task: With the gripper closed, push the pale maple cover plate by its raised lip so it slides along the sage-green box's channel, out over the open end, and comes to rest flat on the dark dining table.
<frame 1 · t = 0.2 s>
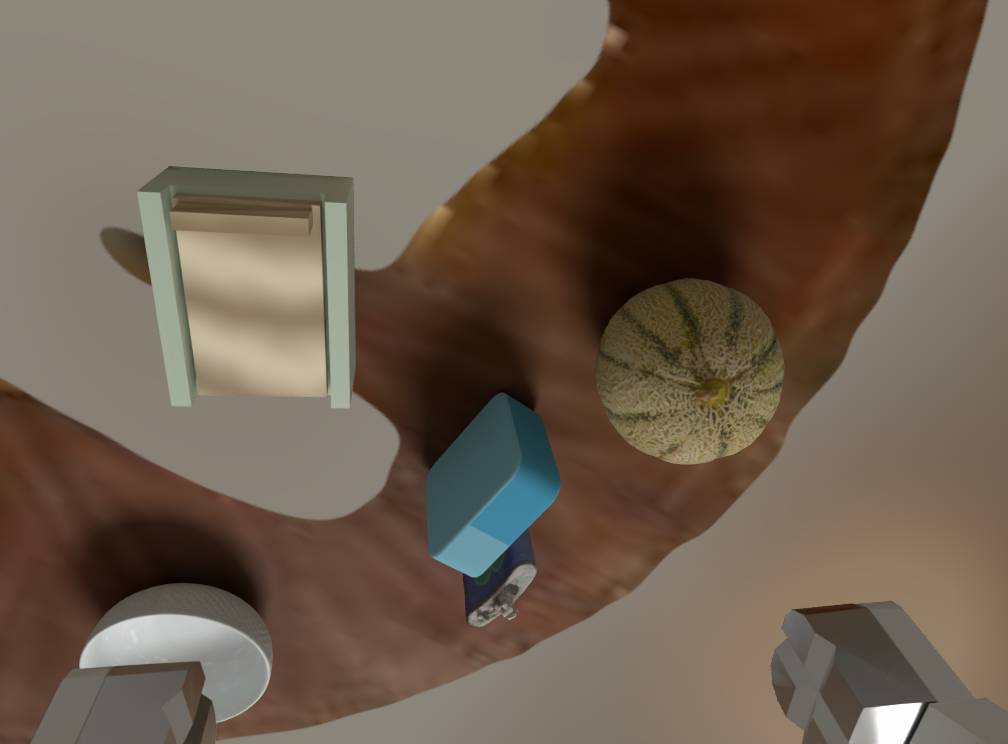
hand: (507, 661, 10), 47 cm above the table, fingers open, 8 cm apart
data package: (481, 440, 65), on the table
cereal bowl: (196, 614, 72), on the table
box: (270, 274, 55), on the table
cover plate: (259, 299, 50), point 5 cm above the table, touching box
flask: (492, 529, 71), on the table
cantaloupe: (657, 331, 62), on the table
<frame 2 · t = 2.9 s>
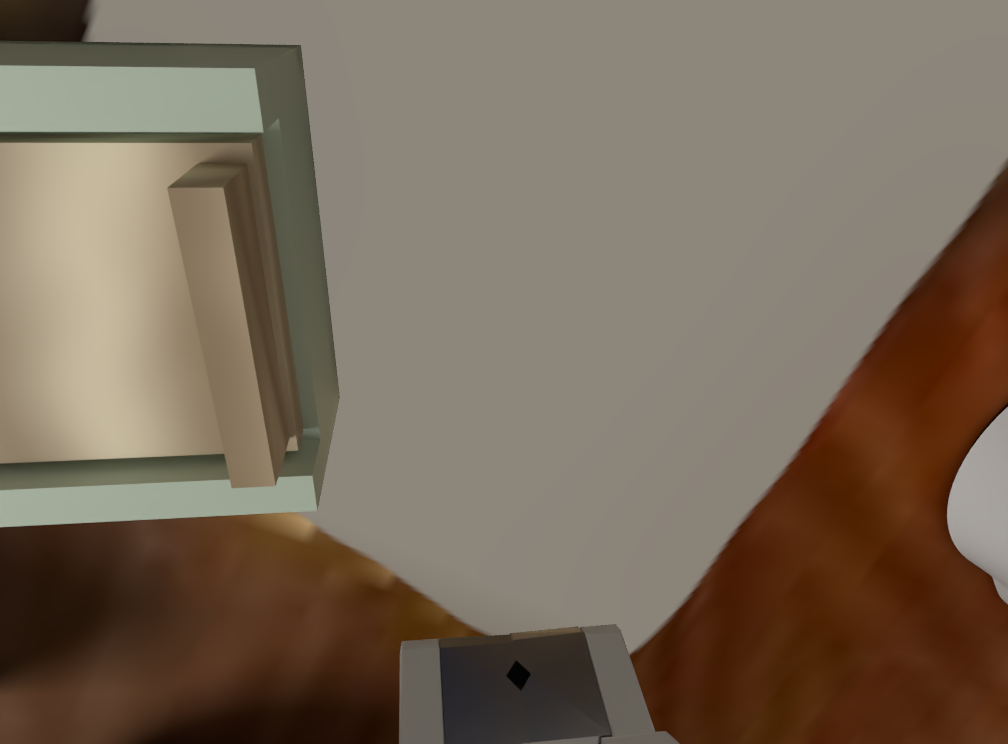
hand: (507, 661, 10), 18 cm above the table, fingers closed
box: (89, 246, 24), on the table
cover plate: (16, 303, 20), point 5 cm above the table, touching box
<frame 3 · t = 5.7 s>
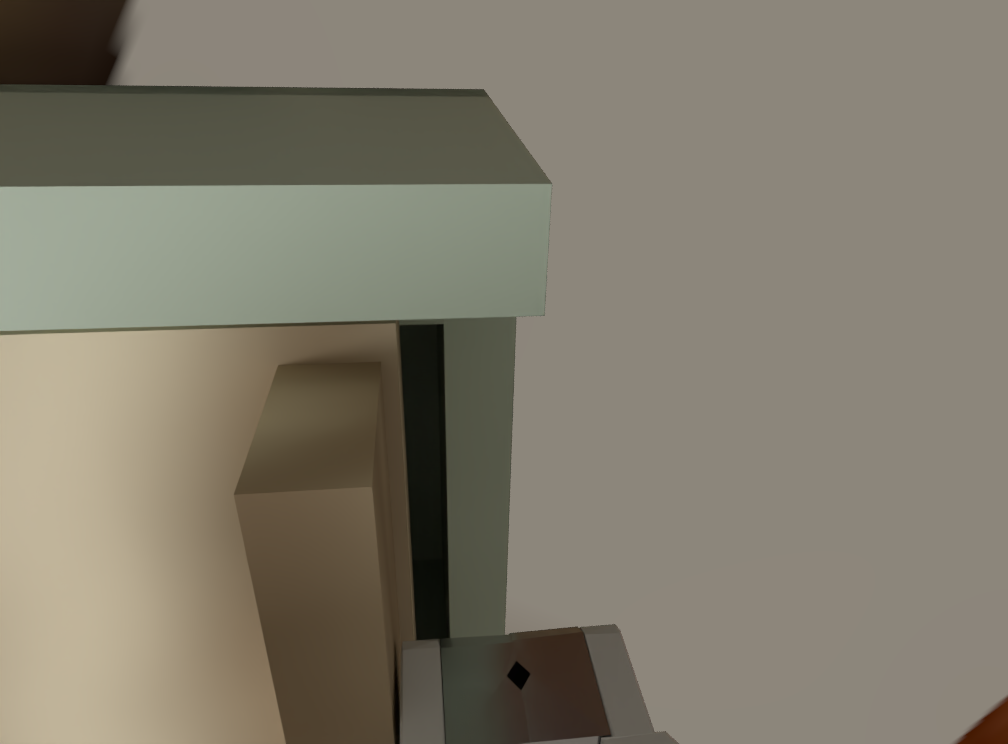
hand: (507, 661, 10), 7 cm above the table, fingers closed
box: (113, 407, 15), on the table
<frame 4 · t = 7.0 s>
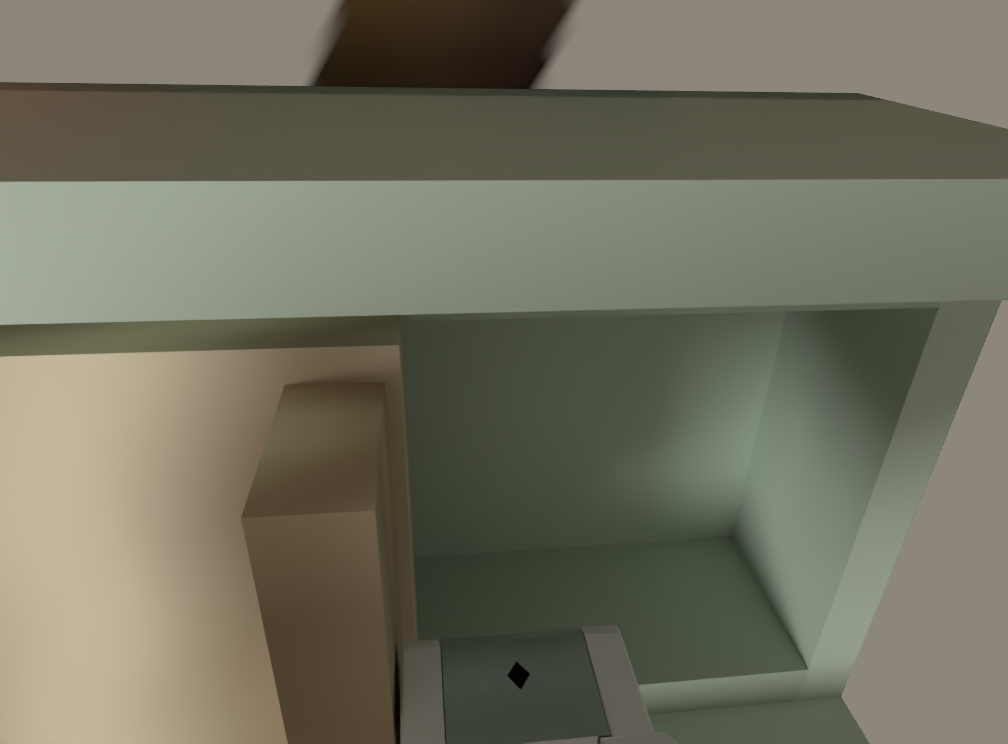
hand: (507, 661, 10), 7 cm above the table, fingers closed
box: (456, 390, 16), on the table
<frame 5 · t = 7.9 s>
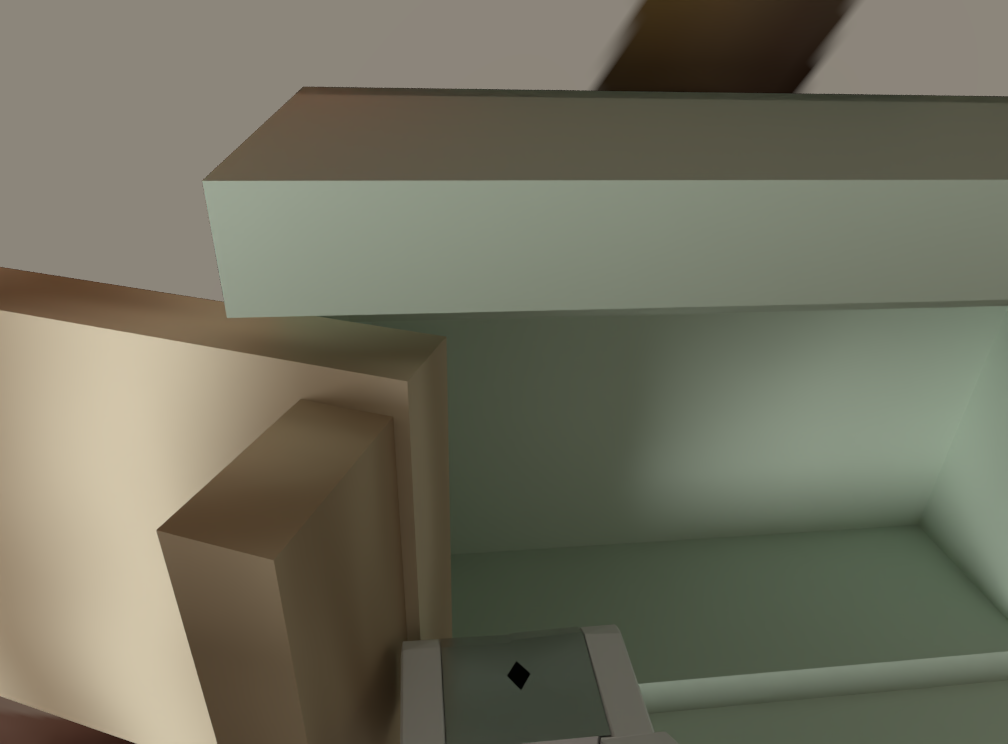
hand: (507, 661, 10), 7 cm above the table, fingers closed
box: (676, 382, 17), on the table
cover plate: (68, 507, 13), point 3 cm above the table, tilted 24°, touching box, gripper
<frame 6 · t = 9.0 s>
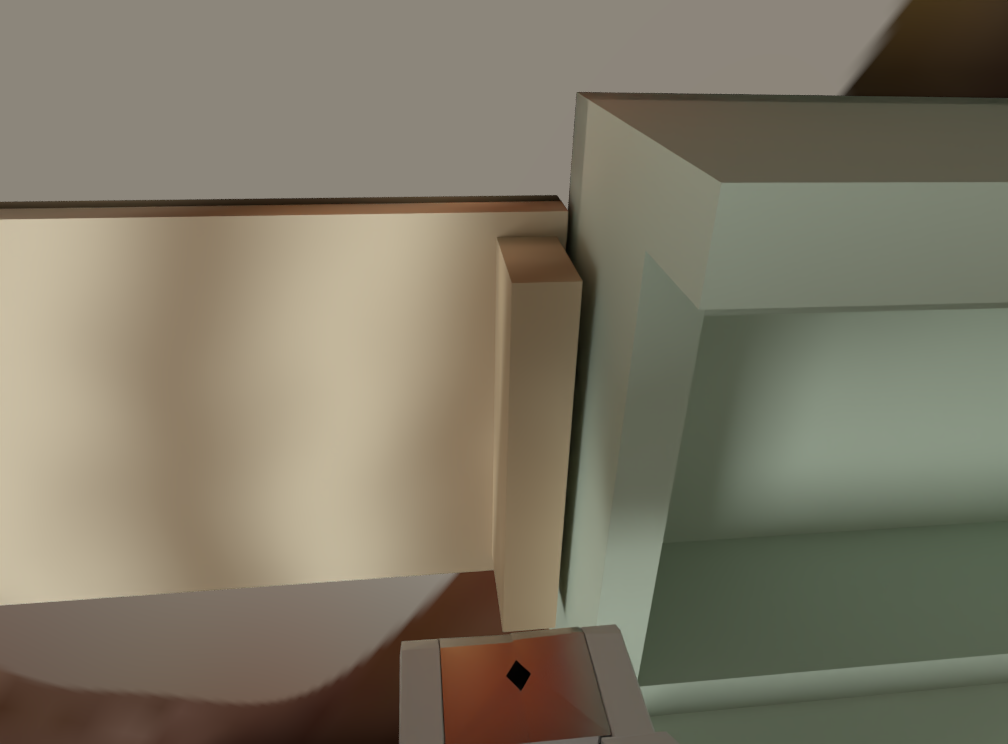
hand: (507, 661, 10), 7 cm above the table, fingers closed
box: (872, 377, 17), on the table
cover plate: (226, 401, 16), on the table
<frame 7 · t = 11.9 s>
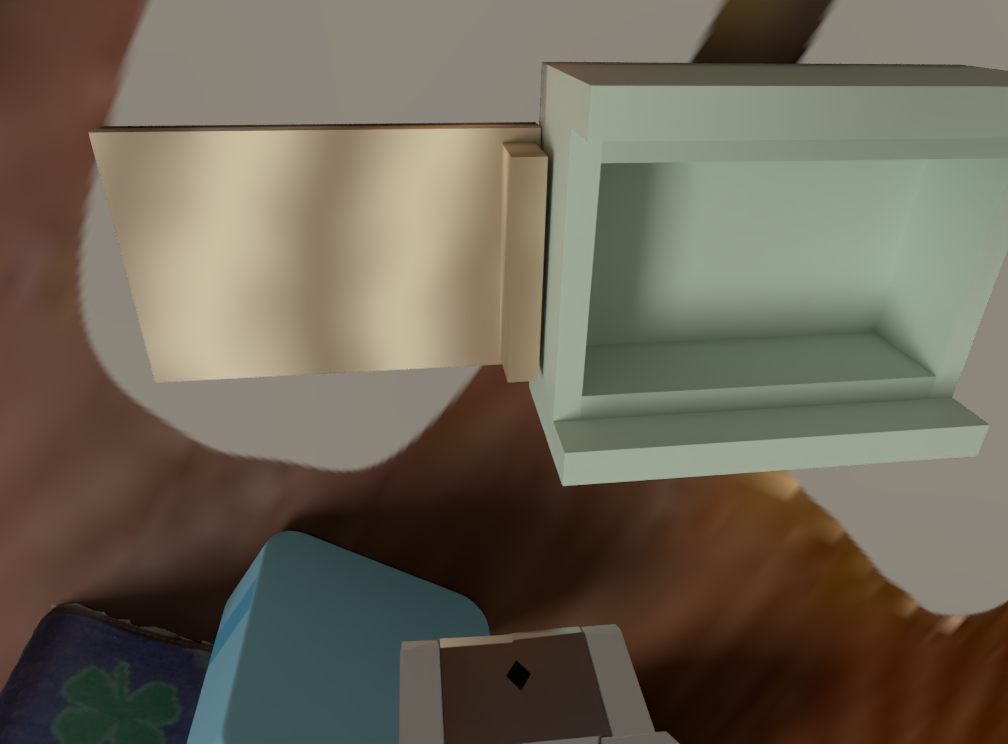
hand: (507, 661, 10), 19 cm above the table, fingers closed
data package: (364, 589, 35), on the table
box: (728, 237, 28), on the table
cover plate: (340, 251, 27), on the table
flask: (143, 638, 35), on the table
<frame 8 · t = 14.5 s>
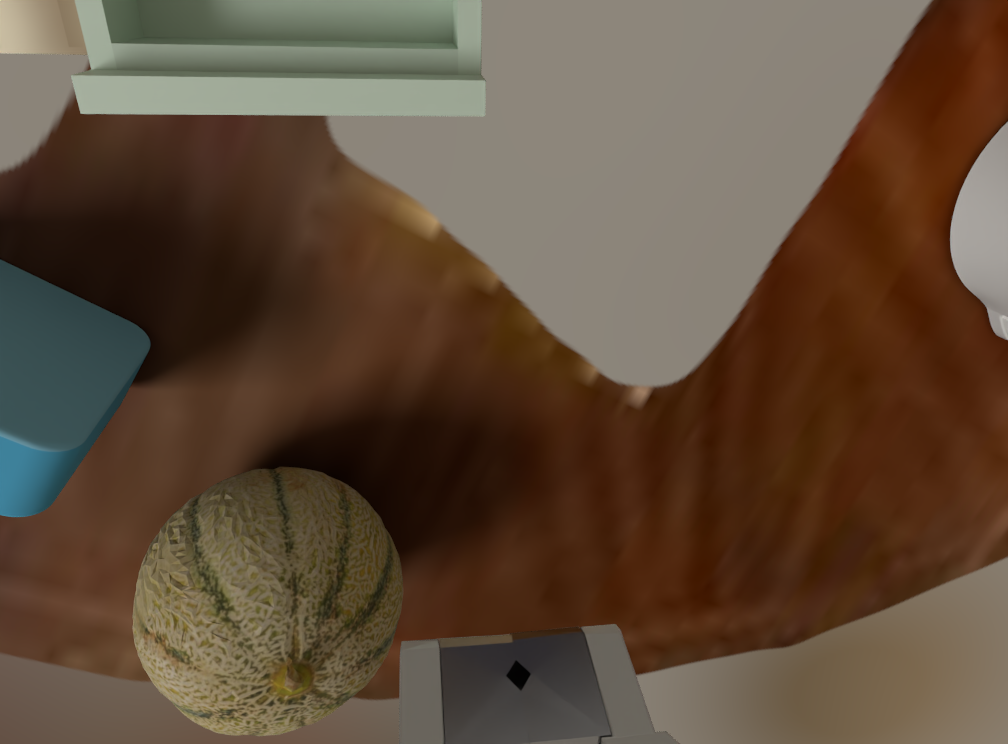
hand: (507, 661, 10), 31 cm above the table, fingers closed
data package: (36, 311, 38), on the table
cantaloupe: (293, 510, 47), on the table
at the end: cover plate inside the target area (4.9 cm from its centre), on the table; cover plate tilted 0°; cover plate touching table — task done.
